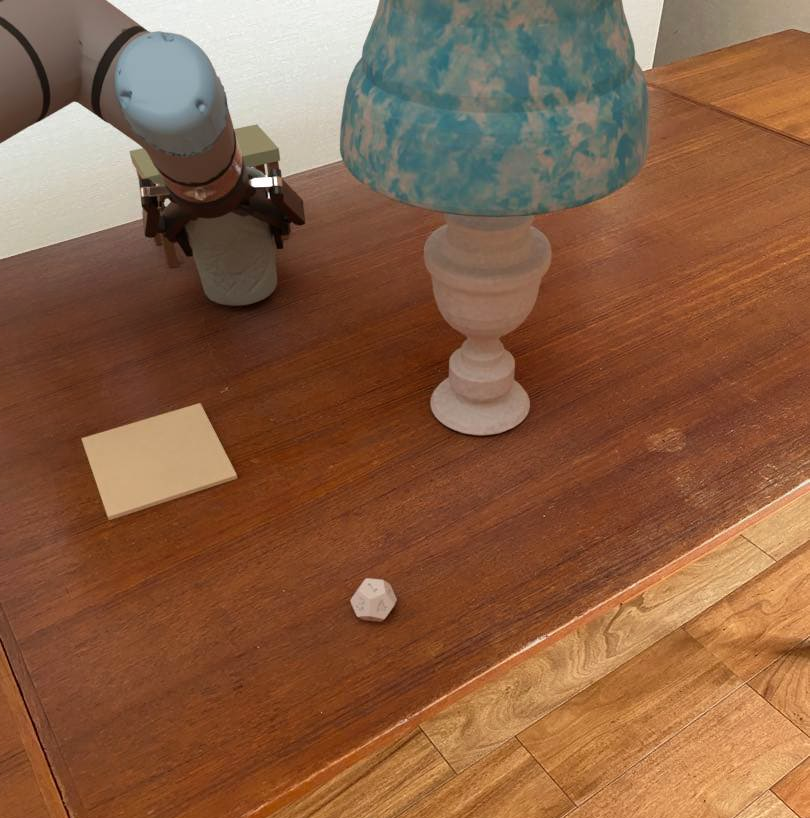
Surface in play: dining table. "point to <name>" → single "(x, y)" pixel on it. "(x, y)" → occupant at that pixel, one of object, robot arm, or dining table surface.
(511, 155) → the table lamp
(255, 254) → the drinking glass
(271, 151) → the side table
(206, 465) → the mat
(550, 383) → the dining table surface
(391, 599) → the game die
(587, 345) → the dining table surface
